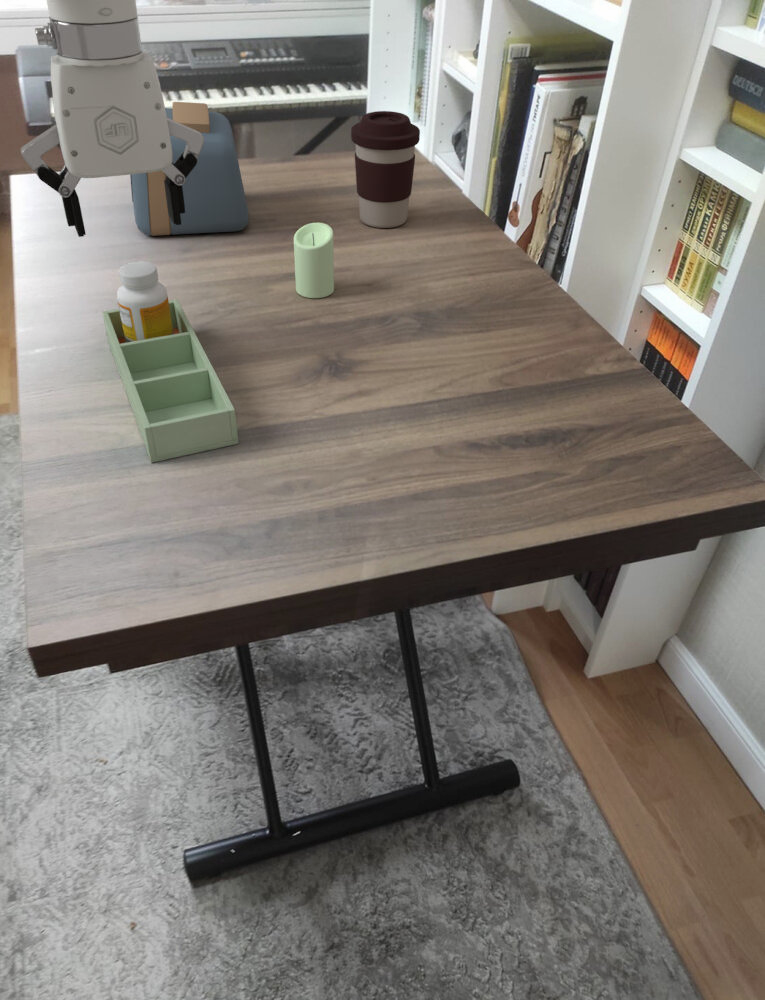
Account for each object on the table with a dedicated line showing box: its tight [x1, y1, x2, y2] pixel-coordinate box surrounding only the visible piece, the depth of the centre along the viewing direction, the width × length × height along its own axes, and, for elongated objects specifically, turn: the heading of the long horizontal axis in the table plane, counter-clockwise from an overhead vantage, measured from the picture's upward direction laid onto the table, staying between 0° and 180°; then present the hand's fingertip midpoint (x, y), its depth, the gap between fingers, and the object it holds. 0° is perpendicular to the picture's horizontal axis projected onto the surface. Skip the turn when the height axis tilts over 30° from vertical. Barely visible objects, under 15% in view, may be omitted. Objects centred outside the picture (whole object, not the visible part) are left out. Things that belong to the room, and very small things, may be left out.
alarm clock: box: [129, 101, 250, 237], centre depth 123 cm, size 16×16×16 cm
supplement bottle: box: [116, 260, 174, 343], centre depth 93 cm, size 5×5×10 cm
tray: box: [101, 299, 239, 464], centre depth 89 cm, size 9×25×4 cm, turn 23°
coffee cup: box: [350, 110, 421, 229], centre depth 124 cm, size 10×10×15 cm
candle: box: [293, 222, 335, 299], centre depth 107 cm, size 5×5×8 cm
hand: (128, 226), depth 86 cm, fingers open, 9 cm apart
